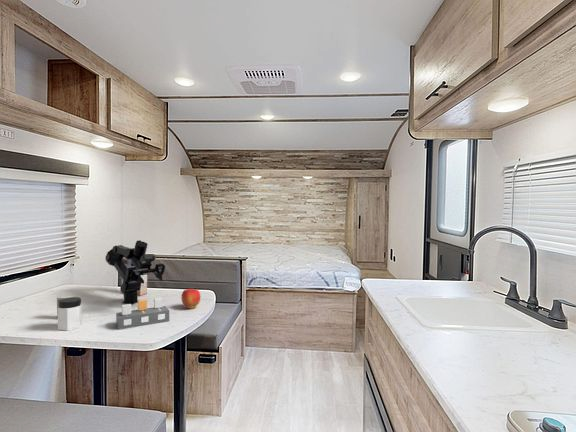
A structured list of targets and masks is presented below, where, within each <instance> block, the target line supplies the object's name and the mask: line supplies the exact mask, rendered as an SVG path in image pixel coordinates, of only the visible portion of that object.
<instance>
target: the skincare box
mask: <svg viewBox="0 0 576 432" xmlns="http://www.w3.org/2000/svg"><path fill="white" fill-rule="evenodd" d="M70 297H74V296H73V295H66V294H65V295H61V296H58V297H56V313H57V314H56V319H57V320H58V308H59V300H61V299H64V298H70Z"/></svg>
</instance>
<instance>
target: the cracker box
mask: <svg viewBox="0 0 576 432" xmlns="http://www.w3.org/2000/svg"><path fill="white" fill-rule="evenodd" d="M122 261H123V263H124V264H125V266H126V267H127V268H131V267H135V266H131V259H129V260H127V259H126V258H124V257H123V260H122ZM140 276H141V277H142V279H143V280H144V284H143V283H141V288H140V291H137V294H138V296H140V297H141V296H143V295H147V294H148V274H147V275H140ZM122 284H123V279H122V278H121V286H122ZM121 286H120V287H121ZM120 294H123V295H124V293H123V292H121V291H120Z"/></svg>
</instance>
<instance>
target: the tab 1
mask: <svg viewBox="0 0 576 432" xmlns="http://www.w3.org/2000/svg"><path fill="white" fill-rule="evenodd" d="M131 311H132V304H121V312H122V315H128V314H131Z"/></svg>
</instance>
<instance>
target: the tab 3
mask: <svg viewBox="0 0 576 432" xmlns="http://www.w3.org/2000/svg"><path fill="white" fill-rule="evenodd" d="M163 302H164V300H163V297H157V298H156V297H155V298H154V299H153V307H154V308H160V307H163V306H164V303H163Z"/></svg>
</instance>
